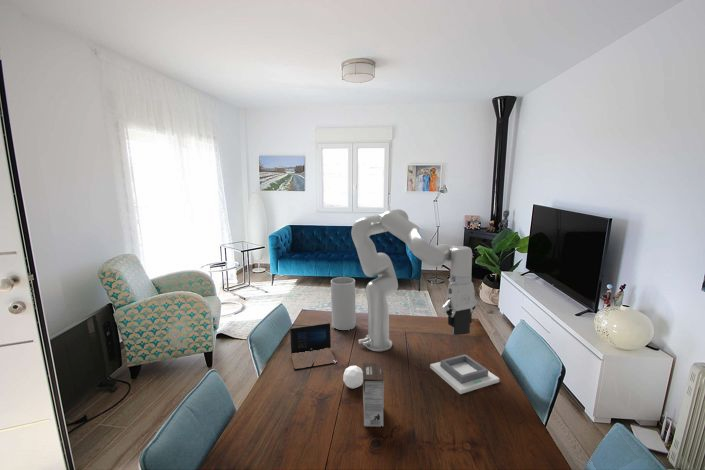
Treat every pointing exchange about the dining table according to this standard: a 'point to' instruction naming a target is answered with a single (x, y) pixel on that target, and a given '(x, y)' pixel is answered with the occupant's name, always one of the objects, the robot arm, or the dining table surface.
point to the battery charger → (462, 322)
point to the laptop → (310, 338)
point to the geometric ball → (353, 377)
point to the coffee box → (373, 394)
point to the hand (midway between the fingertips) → (459, 323)
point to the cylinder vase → (343, 303)
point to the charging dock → (464, 373)
